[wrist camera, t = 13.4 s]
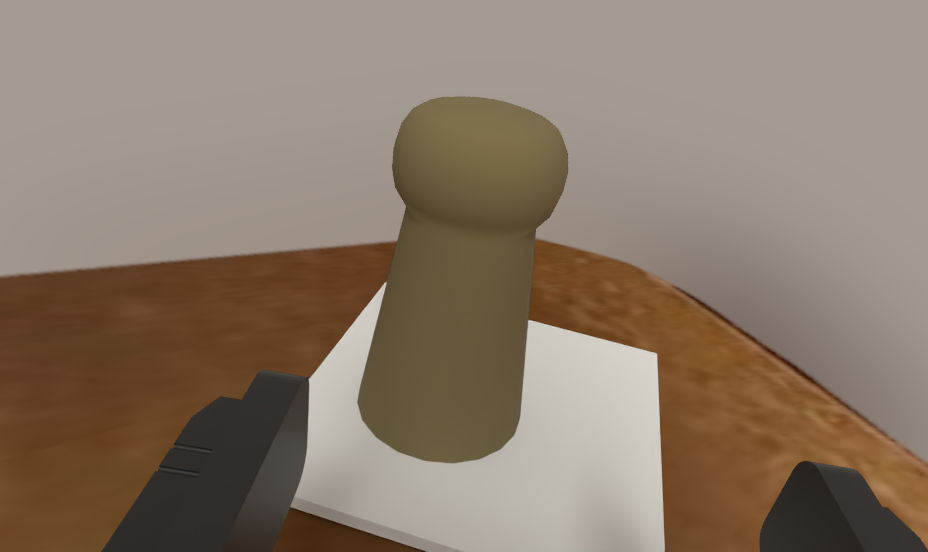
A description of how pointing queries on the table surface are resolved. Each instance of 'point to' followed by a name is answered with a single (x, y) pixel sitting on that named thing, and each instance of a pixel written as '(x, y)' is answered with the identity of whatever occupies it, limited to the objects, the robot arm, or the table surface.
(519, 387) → the cork
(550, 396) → the white mat
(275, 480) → the robot arm
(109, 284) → the table surface
